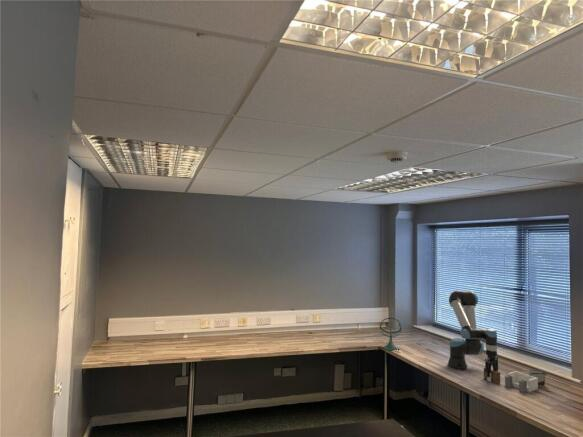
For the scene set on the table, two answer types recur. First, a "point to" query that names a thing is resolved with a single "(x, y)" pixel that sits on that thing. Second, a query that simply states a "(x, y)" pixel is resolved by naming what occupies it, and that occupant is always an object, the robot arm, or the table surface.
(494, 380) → the door
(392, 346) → the armillary sphere
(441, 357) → the table surface
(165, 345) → the table surface
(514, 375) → the carcass
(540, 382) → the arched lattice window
